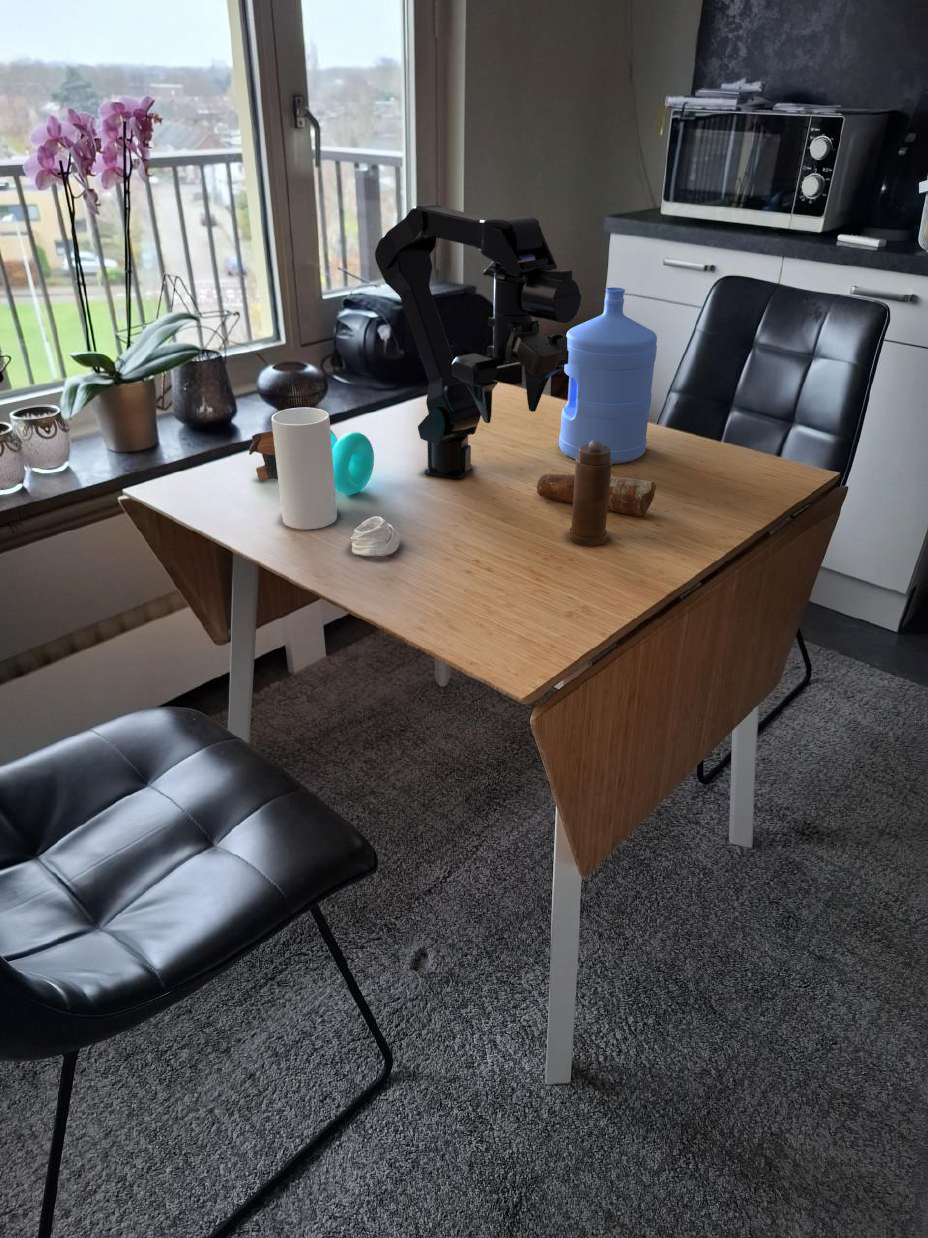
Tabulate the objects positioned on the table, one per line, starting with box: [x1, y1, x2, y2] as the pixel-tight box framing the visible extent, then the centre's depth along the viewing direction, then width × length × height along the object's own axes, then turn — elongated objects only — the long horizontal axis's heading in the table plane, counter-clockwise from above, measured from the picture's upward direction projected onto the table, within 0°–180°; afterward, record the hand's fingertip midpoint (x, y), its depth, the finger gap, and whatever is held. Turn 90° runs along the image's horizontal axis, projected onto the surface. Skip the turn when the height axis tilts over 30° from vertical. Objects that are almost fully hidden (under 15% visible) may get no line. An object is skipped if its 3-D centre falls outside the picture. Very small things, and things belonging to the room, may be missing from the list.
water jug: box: [558, 287, 658, 465], centre depth 153 cm, size 16×16×28 cm
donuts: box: [330, 428, 375, 496], centre depth 142 cm, size 10×10×10 cm
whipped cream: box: [350, 516, 400, 557], centre depth 124 cm, size 8×7×5 cm
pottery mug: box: [248, 430, 278, 481], centre depth 150 cm, size 12×10×8 cm
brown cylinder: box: [536, 473, 657, 517], centre depth 138 cm, size 6×19×6 cm, turn 62°
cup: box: [271, 407, 338, 530], centre depth 130 cm, size 8×8×16 cm
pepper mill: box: [568, 440, 613, 547], centre depth 125 cm, size 5×5×15 cm
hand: (510, 416), depth 136 cm, fingers open, 9 cm apart
